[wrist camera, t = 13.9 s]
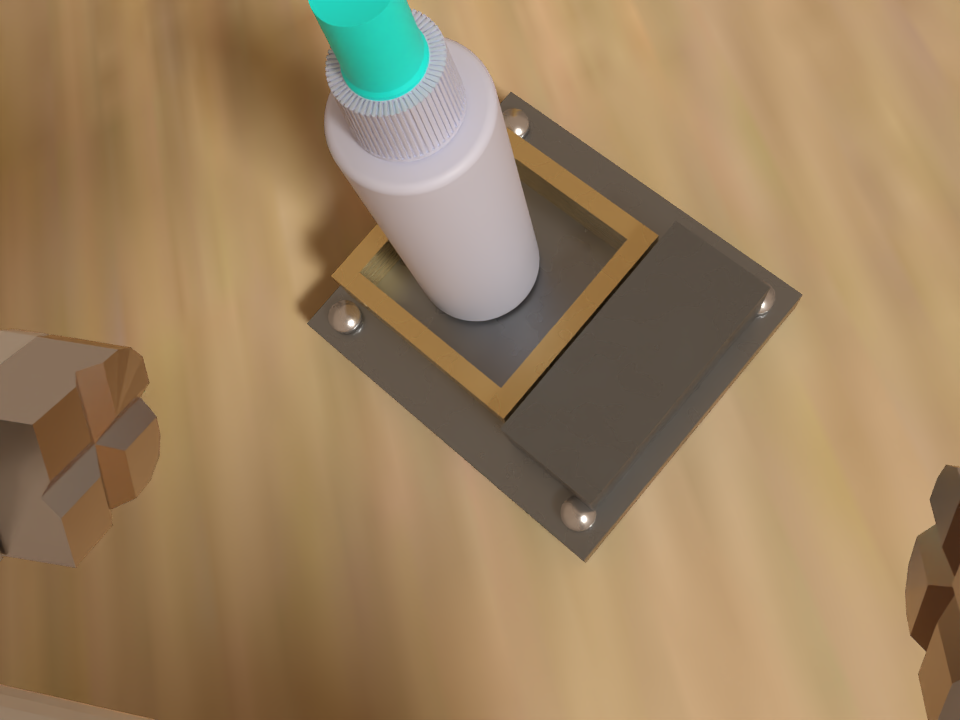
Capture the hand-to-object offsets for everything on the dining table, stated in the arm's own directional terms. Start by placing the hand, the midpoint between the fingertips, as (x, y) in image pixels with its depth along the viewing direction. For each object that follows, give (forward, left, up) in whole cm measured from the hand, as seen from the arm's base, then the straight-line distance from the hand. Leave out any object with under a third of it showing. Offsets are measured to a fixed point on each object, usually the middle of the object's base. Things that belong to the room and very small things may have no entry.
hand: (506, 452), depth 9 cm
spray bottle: (+7, +14, -34) cm, 37 cm away
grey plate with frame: (+7, +10, -35) cm, 37 cm away
